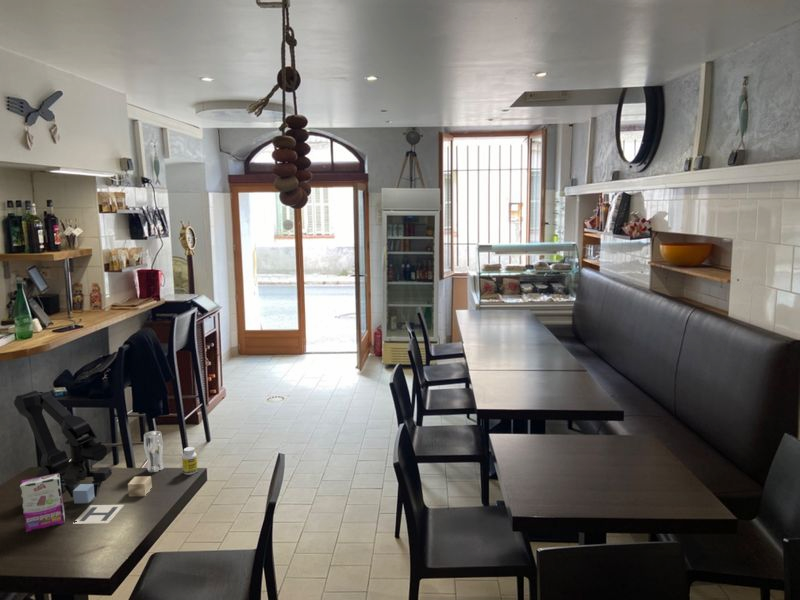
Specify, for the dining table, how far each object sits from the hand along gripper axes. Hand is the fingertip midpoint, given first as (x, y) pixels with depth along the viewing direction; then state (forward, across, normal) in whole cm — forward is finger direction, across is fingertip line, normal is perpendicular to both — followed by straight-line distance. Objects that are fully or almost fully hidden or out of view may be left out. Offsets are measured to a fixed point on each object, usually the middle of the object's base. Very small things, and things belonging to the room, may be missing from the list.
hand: (84, 496), depth 211 cm
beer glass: (+2, +16, +24) cm, 29 cm away
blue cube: (+1, 0, 0) cm, 1 cm away
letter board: (+1, +10, -10) cm, 14 cm away
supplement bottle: (+2, +31, +21) cm, 37 cm away
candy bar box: (+2, -5, -16) cm, 17 cm away
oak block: (+2, +18, +5) cm, 19 cm away
